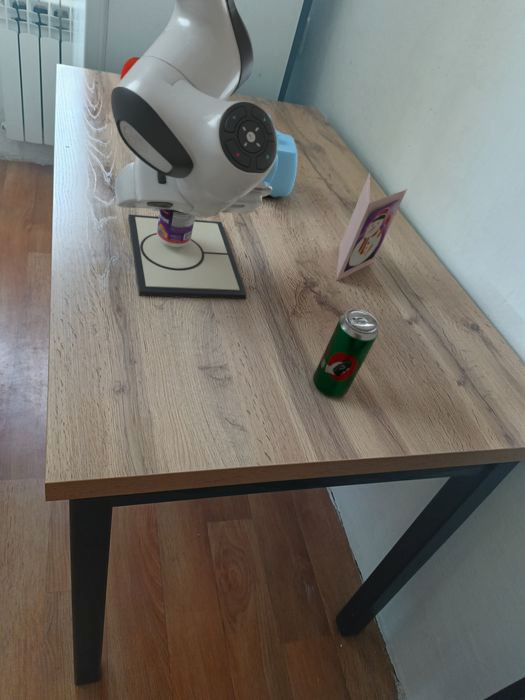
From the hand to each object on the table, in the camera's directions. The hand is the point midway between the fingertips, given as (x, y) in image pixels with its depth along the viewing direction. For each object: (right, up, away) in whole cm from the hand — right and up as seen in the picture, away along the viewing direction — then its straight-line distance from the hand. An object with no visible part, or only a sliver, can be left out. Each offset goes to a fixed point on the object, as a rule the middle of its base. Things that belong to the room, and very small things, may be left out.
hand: (177, 206), depth 82 cm
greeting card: (+27, -6, +15) cm, 32 cm away
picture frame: (0, -7, +4) cm, 8 cm away
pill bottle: (-1, -4, +3) cm, 6 cm away
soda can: (+22, -27, -9) cm, 36 cm away
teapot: (+12, +13, +29) cm, 34 cm away
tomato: (-14, +33, +41) cm, 55 cm away
